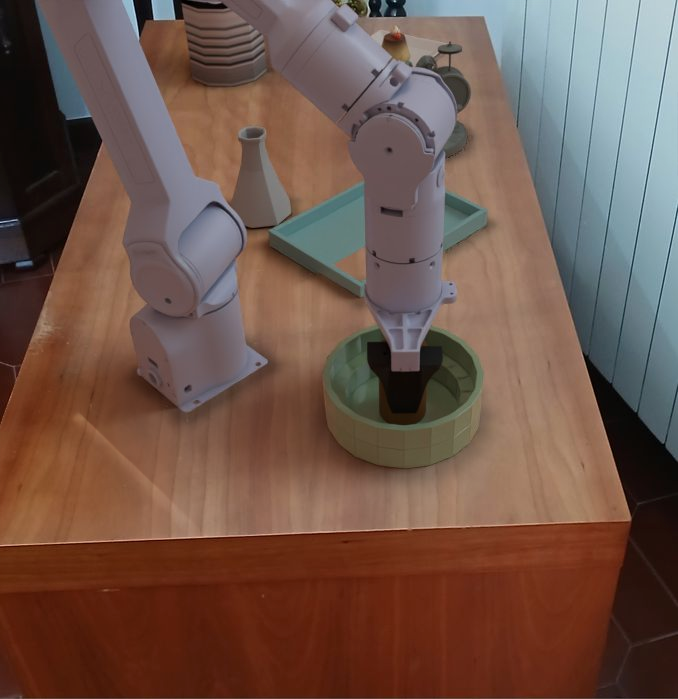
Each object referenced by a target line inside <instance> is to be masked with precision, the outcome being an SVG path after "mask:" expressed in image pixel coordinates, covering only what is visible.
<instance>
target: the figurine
mask: <svg viewBox="0 0 678 699" xmlns="http://www.w3.org/2000/svg"><path fill="white" fill-rule="evenodd" d="M448 43H449V44H445V45H441V46H439V47H438V52H439V53H438V54H442V55H448V65H443V66H439V67H438V64H437V61H436V60H435V58H434V57H432V56H430V55H424V56H422V57H421V58H420V59H419V61H418V62H417V64H416V67H420V68H425V69H428V70H431V71H433V72H435V73H437V74H438V75H440V76H441V78H442V80H443V82H444V83H445V84H446V85H447V86H448V88H449V89H450V90H451V92H452V94H453V96H454V98H455V101H456V104H457V115H458V114H459V113H461V112H462V111H464V109H466V107H467V106H468V104H469V103H470V100H471V97H472V88H471V85H470V83H469V81H468V80H467V79H466V77H465V76H464V75H463V73H462V71H460V70H459V69H458V68H456V67H454V66H452V55H457V54H460V53H462V52H463V46H462V45H460V44H456V43H452V41H448ZM405 64H406V65H407V66H408V65H409V67H413V64H412V62H411V61H406V62H405ZM467 135H468V132H467V128H466V127H465V126H464V124H463V123H462V122H460V121H459V120H457V121H456V124H455V127H454V129H453V132H452V134H451V136H450V137H449V139H448V140H447V142H446V144H445V145H444V147H443V148H442V150H443V151H444V152H445V159H446V158H449V157H451V156H454V155H457V154H458V153H460V152H461V151H462V150H463V149H464V147H465V146H466V144H467Z"/></svg>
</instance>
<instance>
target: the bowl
mask: <svg viewBox="0 0 678 699" xmlns="http://www.w3.org/2000/svg"><path fill="white" fill-rule="evenodd" d="M384 338H385V337H384V335H383V334H382V332H381V330H380V328H379V327H378V325H377V324H373V325H371V326H368V327H365V328H362V329H358V330H356V331H354V332H353V333H352V334H349V335H348V336H346V337H345V338H343V339H342V340H340V341H339V342H338V343H337V344H336V345H335V346H334V348H333V349H332V350H331V351H330V352H329V354H328V355H327V357H326V360H325V363H324V366H323V370H322V391H323V403H324V404H323V405H324V414H325V421H326V426H327V429H328V431H329V432H330V434H332V436H333V438H334V440H335V441H336V443H337V444H338V445H339V446H340V447H342V448H343V449H344V450H346V451H347V452H348V453H350V454H351V455H352V456H354V457H355V458H357V459H360V460H363V461H366V462H368V463H370V464H373V465H375V466H379V467H380V466H381V467H387V468H388V467H389V468H396V469H411V468H421V467H429V466H432V465H434V464H438V463H440V462H442V461H445V460H447V459H450V458H452V457H454V456H455V455H456V454H457V453H459V452H460V451H461V450H463V449H464V448H465V447H467V446H468V445H469V444H470V442H471V441H472V440H473V438H474V436H475V434H476V433H477V431H478V429H479V427H480V423H481V422H480V421H481V413H482V404H483V402H482V401H483V392H484V380H485V371H484V368H483V366H482V362H481V360H480V357H479V355H478V354H477V353H476V351H475V350H474V349H473V348H472V347H471V346H470V345H469V343H468V342H467V341H465V340H464V339H462V338H460V337H459V336H457V335H456V334H454V333H452V332H450V331H449V330H447V329H444V328H441V327H437V326H434V325H431V327H430V328H429V330H428V332H427V334H426V336H425V338H424V341H425V342H426V344H427V346H442V352H443V361H442V364H441V367H440V369H439V370H438V371H437V372H436V373H435V374H434V375H433V376H432V377H431V379H430V380H429V382H428V384H427V393H426V413H425V416H424V418H423V419H422V420H421V421H420V422H418V423H416V424H412V425H396V424H389V423H387V422H386V421H385V420H384V419H383V418H382V417H381V415H380V412H379V378H378V377H377V375H376V374H375V373H374V372H373V371H372V370H371V369H370V367H369V365H368V362H367V342H381V341H382V340H383V339H384Z"/></svg>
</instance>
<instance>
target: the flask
mask: <svg viewBox="0 0 678 699" xmlns="http://www.w3.org/2000/svg"><path fill="white" fill-rule="evenodd" d="M267 135H268V134H267V129H266V127H264V126H259V125H248V126H243V127H242V128H240V129H239V130H238V131H237V140H238V142H239V143H240V144H241V157H240V158H241V159H240V166H239V170H238V176H237V180H236V184H235V187H234V190H233V194H232V198H231V203H230V205H229V206H230V207H231V208H232V209H233V210H234V211H235V212H236V213H237V214H238V216H239V217H240V218H241V220H242V222H243V224H244V226H245V227H248V228H252V229H254V228H264V227H273V226H274V227H275V226H278V225H280V224H282V223H283V222H284V220H285V219H286V218H287V217H288V216H290V215H291V214H292V206H291V200H290V196H289V195H288V193H287V191H286V189H285V187H284V185H283V184H282V182H281V180H280V179H279V177H278V175H277V173H276V170H275V168H274V166H273V165H272V162H271V161H270V158H269V155H268V151H267V148H266V142H265V141H266V139H267V137H268V136H267Z"/></svg>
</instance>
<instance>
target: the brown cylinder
mask: <svg viewBox="0 0 678 699" xmlns="http://www.w3.org/2000/svg"><path fill="white" fill-rule="evenodd" d="M381 342H387V341H386V339H385V338H384V339H383V340H382V341H381ZM421 346H427V344H426V342H425V341H424V340H423V342H422V345H421ZM426 393H427V386H426V388H425V391H424V394H423V398H422V401H421V404H420V407H419V409H418V411H417V413H399V414H393V413H392V412H391V410H390V408H389V405H388V402H387V399H386V395H385V391H384V388H383V385H382V383H381V381H380V380H379V412H380V415H381V417H382V418H383V419H384V420H385V421H386V422H387V423H389V424H396V425H412V424H416V423H418V422H420V421H421V420H422V419H423V418H424V416H425V413H426Z"/></svg>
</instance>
